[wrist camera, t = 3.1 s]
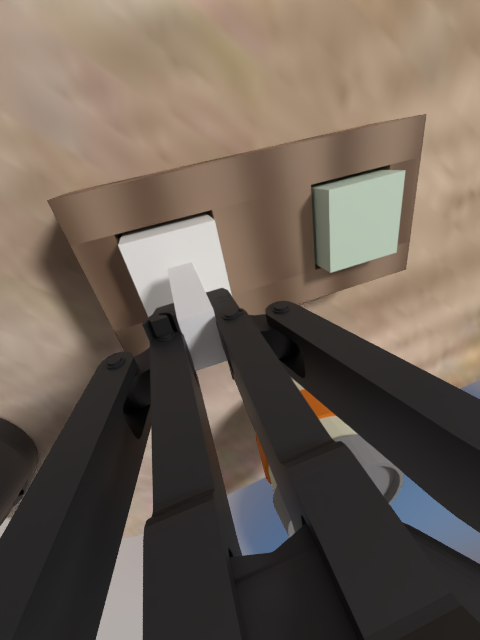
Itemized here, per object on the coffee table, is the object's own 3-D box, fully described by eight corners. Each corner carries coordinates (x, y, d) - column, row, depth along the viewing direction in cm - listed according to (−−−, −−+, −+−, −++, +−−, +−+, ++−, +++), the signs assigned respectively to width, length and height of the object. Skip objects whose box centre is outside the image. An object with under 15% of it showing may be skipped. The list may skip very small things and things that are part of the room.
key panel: (131, 323, 28) (128, 358, 23) (70, 192, 21) (47, 200, 16) (364, 252, 31) (405, 269, 26) (370, 124, 25) (426, 114, 20)
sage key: (300, 255, 26) (330, 272, 22) (295, 185, 23) (328, 190, 19) (357, 238, 27) (396, 252, 23) (359, 169, 24) (405, 170, 20)
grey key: (151, 299, 24) (152, 328, 20) (123, 229, 21) (117, 245, 17) (218, 279, 25) (233, 303, 21) (201, 209, 22) (214, 220, 18)
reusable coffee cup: (224, 383, 35) (270, 508, 22) (315, 342, 36) (408, 438, 23) (252, 440, 41) (298, 562, 29) (328, 404, 42) (405, 506, 30)
